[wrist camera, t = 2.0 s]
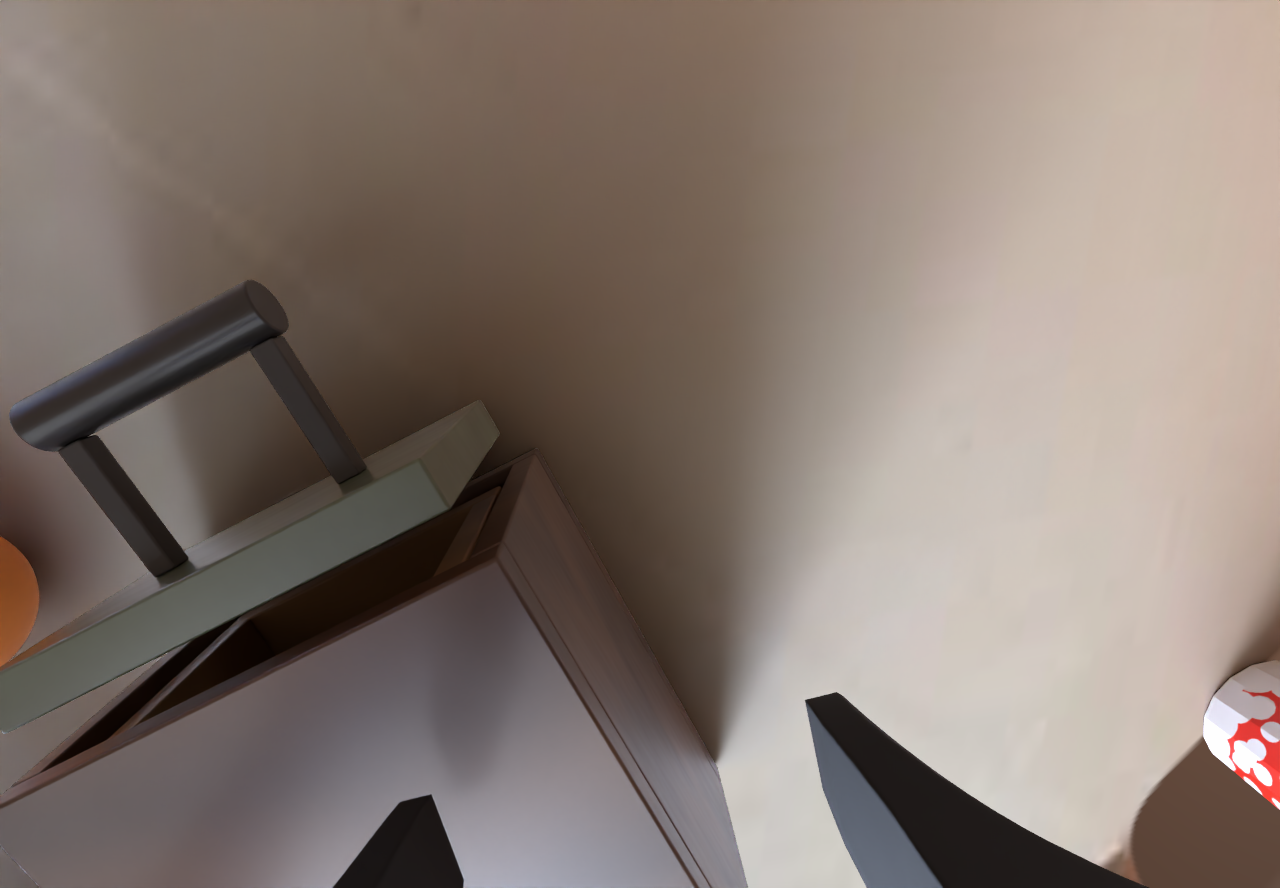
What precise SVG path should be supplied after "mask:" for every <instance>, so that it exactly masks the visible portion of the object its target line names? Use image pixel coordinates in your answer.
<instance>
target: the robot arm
mask: <svg viewBox="0 0 1280 888" xmlns="http://www.w3.org/2000/svg"><path fill="white" fill-rule="evenodd" d="M805 702H806V707H807V712H808V717H809V722H810V727H811V732H812V737H813V742H814V747H815V752H816V757H817V762H818V767H819V772H820V777H821V782H822V787H823V791H824V793H825V796H826V798H827V801H828V804H829V806H830V809H831V811H832V814H833V816H834V819H835V821H836V824H837V826H838V829H839V831H840V834H841V836H842V839H843V841H844V844H845V846H846V848H847V850H848V852H849V854H850V856H851V858H852V860H853V862H854V864H855V866H856V867H857V869H858V871H859V873H860V875H861V877H862V879H863V881H864V883H865V885H866V887H867V888H1148V887H1146V886H1144V885H1141V884H1139V883H1136V882H1134V881H1132V880H1129V879H1127V878H1124V877H1122V876H1120V875H1118V874H1116V873H1113V872H1111V871H1109V870H1107V869H1104V868H1102V867H1100V866H1098V865H1096V864H1094V863H1092V862H1090V861H1088V860H1086V859H1084V858H1082V857H1080V856H1077V855H1075V854H1073V853H1071V852H1069V851H1067V850H1065V849H1063V848H1061V847H1059V846H1057V845H1055V844H1053V843H1051V842H1049V841H1047V840H1045V839H1043V838H1041V837H1039V836H1038V835H1036V834H1034V833H1032V832H1030V831H1028V830H1027V829H1025V828H1023V827H1021V826H1020V825H1018V824H1016V823H1014V822H1013V821H1011V820H1009V819H1008V818H1006V817H1004V816H1002V815H1001V814H999V813H997V812H996V811H994V810H992V809H991V808H989V807H988V806H986V805H984V804H983V803H981V802H980V801H978V800H977V799H975V798H974V797H972V796H970V795H969V794H967V793H966V792H964V791H963V790H962V789H960V788H959V787H957V786H956V785H954V784H953V783H951V782H950V781H948V780H947V779H945V778H944V777H943V776H941V775H940V774H938V773H937V772H936V771H934V770H933V769H931V768H930V767H929V766H927V765H926V764H925V763H923V762H922V761H921V760H919V759H918V758H917V757H915V756H914V755H913V754H911V753H910V752H909V751H908V750H906V749H905V748H904V747H902V746H901V745H900V744H898V743H897V742H896V741H895V740H893V739H892V738H891V737H890V736H888V735H887V734H886V733H885V732H884V731H882V730H881V729H880V728H879V727H878V726H876V725H875V724H874V723H873V722H872V721H870V720H869V719H868V718H867V717H866V716H865V715H864V714H862V713H861V712H860V711H859V710H858V709H857V708H856V707H854V706H853V705H852V704H851V703H850V702H849V701H848V700H847V699H846V698H845V697H843V696H842V695H840V694H839V693H837V692H836V693H832V694H828V695H824V696H820V697H816V698H812V699H808V700H805ZM463 886H464V878H463V876H462V873H461V871H460V868H459V865H458V863H457V860H456V857H455V855H454V852H453V849H452V847H451V844H450V842H449V839H448V836H447V834H446V831H445V828H444V826H443V823H442V821H441V818H440V815H439V813H438V810H437V807H436V805H435V802H434V800H433V797H432V794H429V795H426V796H422V797H418V798H414V799H410V800H406V801H402V802H399V804H398V805H397V806H396V807H395V808H394V810H393V811H392V812H391V813H390V814H389V816H388V817H387V818H386V819H385V821H384V822H383V823H382V825H381V826H380V827H379V828H378V830H377V831H376V832H375V834H374V835H373V836H372V838H371V839H370V840H369V841H368V843H367V844H366V845H365V847H364V848H363V849H362V851H361V852H360V853H359V854H358V856H357V857H356V858H355V860H354V861H353V862H352V864H351V865H350V866H349V867H348V869H347V870H346V871H345V873H344V874H343V875H342V876H341V878H340V879H339V880H338V881H337V883H336V884H335V885H334V887H333V888H463Z"/></svg>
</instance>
